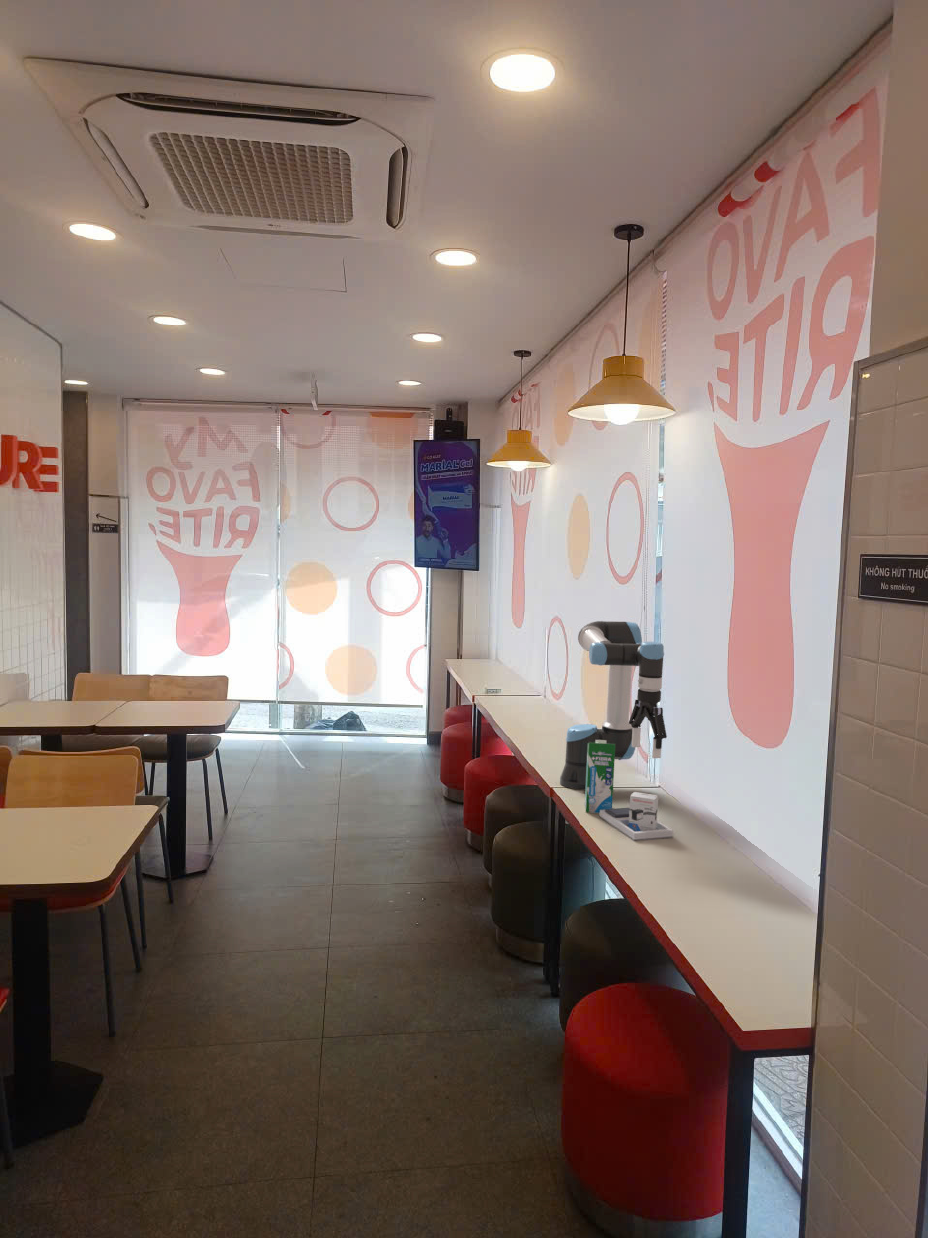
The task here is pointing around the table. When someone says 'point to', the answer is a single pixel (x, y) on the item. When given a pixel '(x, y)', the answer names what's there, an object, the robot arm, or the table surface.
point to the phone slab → (618, 812)
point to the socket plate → (623, 827)
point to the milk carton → (599, 776)
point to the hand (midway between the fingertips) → (645, 752)
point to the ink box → (643, 812)
